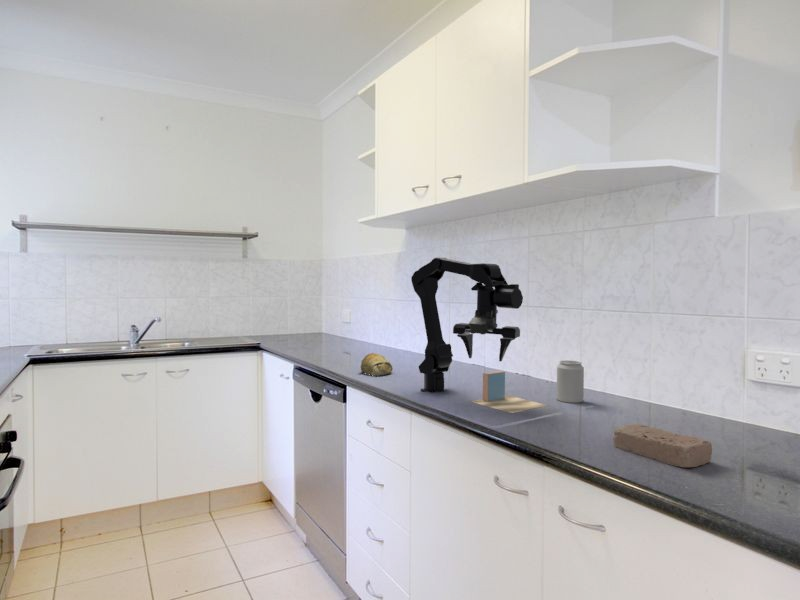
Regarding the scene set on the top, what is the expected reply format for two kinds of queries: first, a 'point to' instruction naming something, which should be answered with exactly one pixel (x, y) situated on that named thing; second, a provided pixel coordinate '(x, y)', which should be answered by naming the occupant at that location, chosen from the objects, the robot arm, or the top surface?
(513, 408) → the board
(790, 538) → the top surface
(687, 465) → the brick
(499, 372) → the tile
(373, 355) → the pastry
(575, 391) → the can
